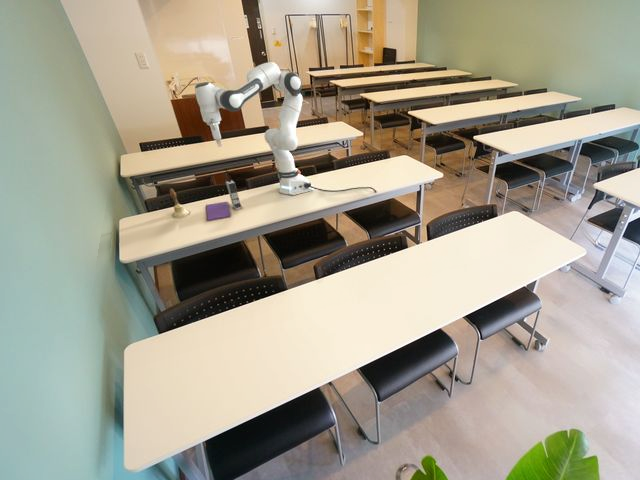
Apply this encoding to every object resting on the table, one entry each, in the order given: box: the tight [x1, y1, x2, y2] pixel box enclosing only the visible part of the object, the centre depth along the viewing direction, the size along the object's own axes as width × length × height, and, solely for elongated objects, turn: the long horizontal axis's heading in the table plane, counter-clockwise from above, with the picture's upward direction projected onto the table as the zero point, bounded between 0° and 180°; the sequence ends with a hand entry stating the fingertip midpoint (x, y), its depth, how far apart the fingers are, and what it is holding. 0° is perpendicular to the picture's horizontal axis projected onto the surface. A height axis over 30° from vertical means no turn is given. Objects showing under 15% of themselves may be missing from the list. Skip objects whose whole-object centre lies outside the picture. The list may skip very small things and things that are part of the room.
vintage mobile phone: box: [225, 167, 243, 211], centre depth 203 cm, size 4×5×25 cm
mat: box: [206, 201, 231, 221], centre depth 206 cm, size 12×22×1 cm, turn 27°
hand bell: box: [169, 188, 190, 218], centre depth 198 cm, size 8×8×16 cm
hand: (219, 144), depth 188 cm, fingers open, 8 cm apart
